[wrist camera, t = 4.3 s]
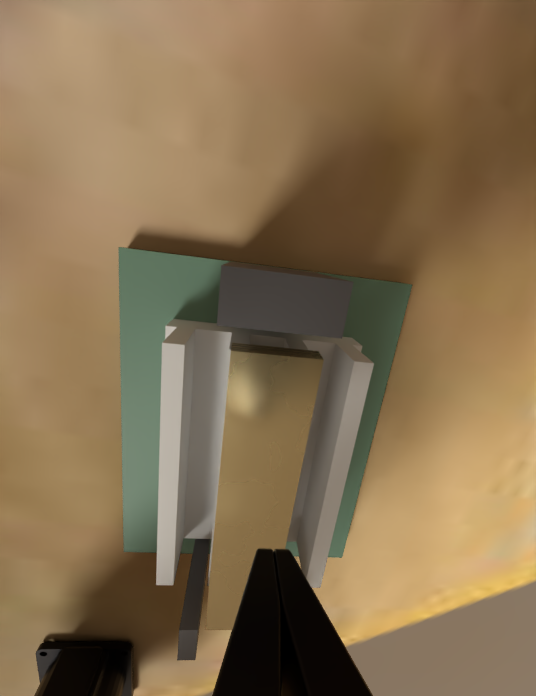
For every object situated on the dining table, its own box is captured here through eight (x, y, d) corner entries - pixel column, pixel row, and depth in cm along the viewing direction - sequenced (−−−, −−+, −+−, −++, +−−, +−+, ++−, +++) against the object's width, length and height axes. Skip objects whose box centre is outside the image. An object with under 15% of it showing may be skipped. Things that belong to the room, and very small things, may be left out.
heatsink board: (337, 543, 21) (376, 664, 15) (129, 537, 20) (75, 668, 13) (402, 282, 16) (502, 300, 10) (127, 247, 14) (37, 242, 8)
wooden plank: (267, 610, 15) (268, 629, 14) (207, 609, 15) (205, 629, 14) (318, 351, 10) (323, 359, 10) (232, 342, 10) (230, 350, 9)
